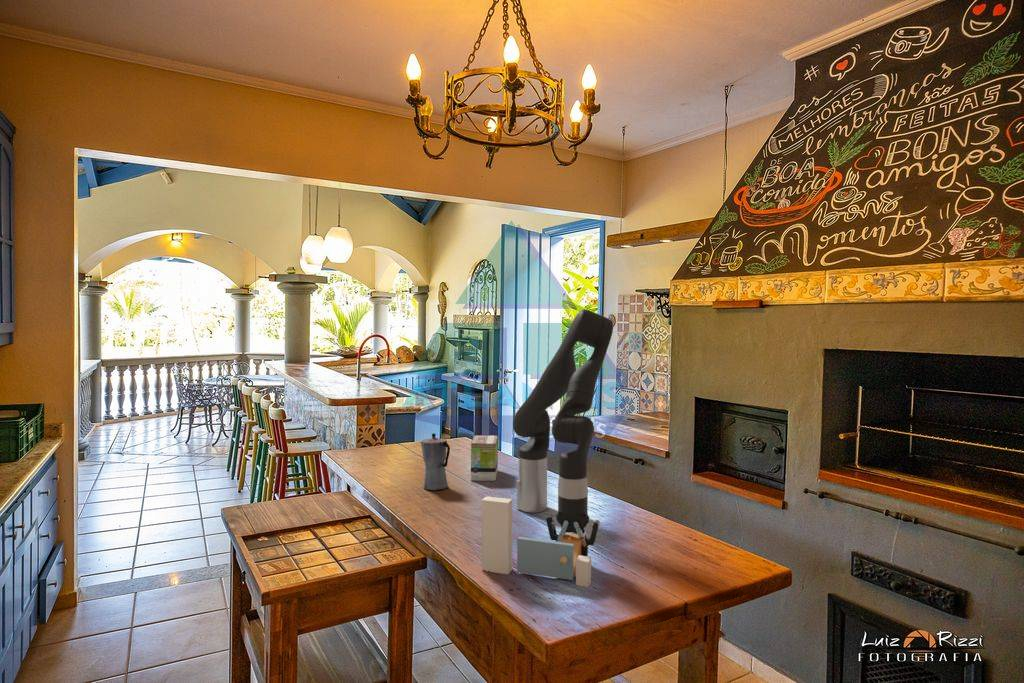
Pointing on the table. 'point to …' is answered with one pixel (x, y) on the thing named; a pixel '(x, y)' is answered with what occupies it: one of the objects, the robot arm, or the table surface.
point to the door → (545, 558)
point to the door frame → (500, 540)
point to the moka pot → (435, 462)
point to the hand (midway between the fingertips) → (572, 557)
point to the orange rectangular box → (577, 546)
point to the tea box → (484, 458)
